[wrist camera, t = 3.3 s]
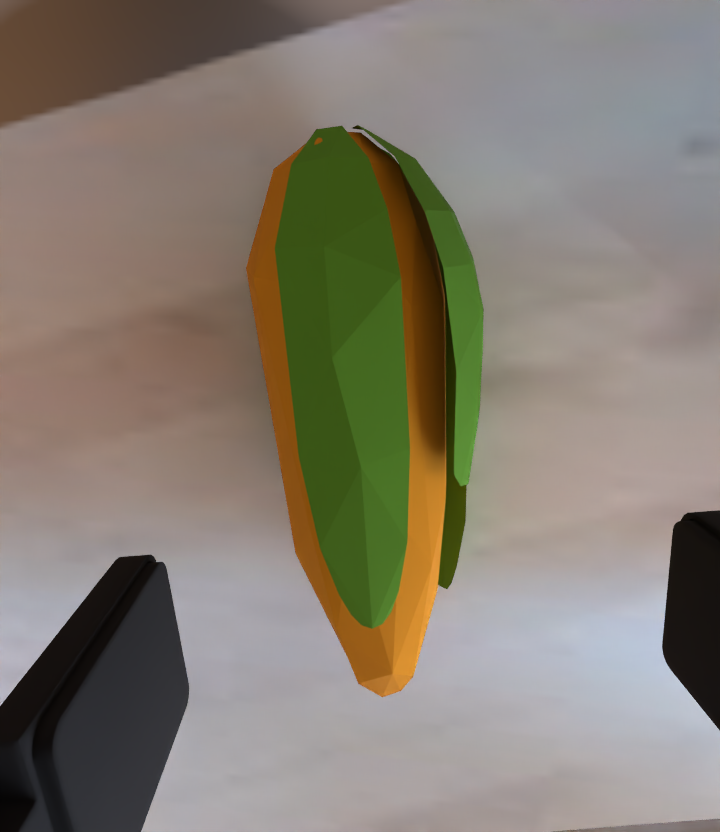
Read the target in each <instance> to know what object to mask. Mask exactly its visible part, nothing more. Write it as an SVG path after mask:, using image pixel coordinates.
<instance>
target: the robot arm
mask: <svg viewBox="0 0 720 832" xmlns="http://www.w3.org/2000/svg"><path fill="white" fill-rule="evenodd" d="M662 649H663V655H664V658H665V660H666V663H667V665H668V666H669V668H670V669H671V671H672V672H673V673H674V674H675V675H676V677H677V678H678V679H679V680H680V682H681V683H682V684H683V685H684V687H685V688H686V689H687V690H688V692H689V693H690V694H691V695H692V697H693V698H694V699H695V700H696V702H697V703H698V704H699V705H700V707H701V708H702V709H703V710H704V711H705V713H706V714H707V715H708V716H709V718H710V719H711V720H712V721H713V723H714V724H715V725H716V726H717V728H718V729H719V730H720V511H706V512H693V513H687V514H685V515H684V516H683V518H682V519H681V521H679V522H677V523H676V524H675V525H674V528H673V535H672V546H671V557H670V568H669V579H668V589H667V600H666V611H665V622H664V633H663V644H662ZM188 697H189V683H188V677H187V672H186V667H185V662H184V657H183V651H182V646H181V641H180V636H179V631H178V625H177V620H176V615H175V610H174V605H173V600H172V594H171V589H170V584H169V579H168V574H167V569H166V566H165V564H164V563H163V562H156V560H155V558H154V556H152V555H141V556H129V557H119V558H118V559H116V560H115V562H114V563H113V564H112V565H111V567H110V568H109V569H108V571H107V572H106V573H105V574H104V576H103V577H102V578H101V579H100V581H99V582H98V583H97V584H96V586H95V587H94V588H93V590H92V591H91V592H90V593H89V595H88V596H87V597H86V598H85V600H84V601H83V602H82V603H81V605H80V606H79V607H78V608H77V610H76V611H75V612H74V614H73V615H72V616H71V617H70V619H69V620H68V621H67V622H66V624H65V625H64V626H63V627H62V629H61V630H60V631H59V633H58V634H57V635H56V636H55V638H54V639H53V640H52V641H51V643H50V644H49V645H48V646H47V648H46V649H45V650H44V651H43V653H42V654H41V655H40V657H39V658H38V659H37V660H36V662H35V663H34V664H33V665H32V667H31V668H30V669H29V670H28V672H27V673H26V674H25V676H24V677H23V678H22V679H21V681H20V682H19V683H18V684H17V686H16V687H15V688H14V689H13V691H12V692H11V693H10V695H9V696H8V697H7V698H6V700H5V701H4V702H3V703H2V705H1V706H0V832H141V830H142V827H143V824H144V822H145V819H146V816H147V814H148V811H149V808H150V805H151V803H152V800H153V797H154V794H155V792H156V789H157V786H158V783H159V781H160V778H161V775H162V772H163V770H164V767H165V764H166V762H167V759H168V756H169V753H170V751H171V748H172V745H173V742H174V740H175V737H176V734H177V731H178V729H179V726H180V723H181V720H182V718H183V715H184V712H185V709H186V707H187V703H188ZM553 832H720V819H709V820H695V821H682V822H668V823H654V824H641V825H629V826H616V827H603V828H591V829H578V830H565V831H553Z"/></svg>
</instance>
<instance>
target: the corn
mask: <svg viewBox="0 0 720 832" xmlns="http://www.w3.org/2000/svg"><path fill="white" fill-rule="evenodd" d="M353 129H361V130H364V131H365V132H367V133H368V134H369V135H370V136H371V137H372V138H374V139H375V140H376V141H377V142H378V143H380V144H381V145H382V146H383V147H384V148H386V149H387V150H388V151H389V152H390V153H392V154H393V155H394V156H395V158H396V159H397V161H398V163H399V164H398V163H397V161H396V160H395V159H394V158H393V157H392V156H391V154H390V153H388V152H386V151H384V150H383V149H381V148H379V147H378V146H377V145H375V144H374V143H373V142H372V141H370V140H369V139H368V138H367V137H366V136H364V135H363V134H362V133H360V132H347V131H346V130H345V129H344V128H343V126H337V127H330V128H323V129H316V131H315V132H314V134H313V135H312V136H311V138H310V139H309V140H308V142H307V143H306V144H305V145H303V146H302V147H301V148H300V149H298V150H297V151H296V152H295V153H293V154H292V155H291V156H290V157H288V158H287V159H286V160H285V161H283V162H282V163H281V164H280V165H278V166H277V167H276V168H275V169H274V170H273V174H272V177H271V181H270V184H269V188H268V191H267V195H266V199H265V202H264V206H263V209H262V213H261V216H260V220H259V224H258V227H257V231H256V234H255V238H254V242H253V245H252V249H251V252H250V256H249V259H248V263H247V267H246V271H247V277H248V282H249V288H250V294H251V300H252V305H253V311H254V317H255V323H256V328H257V334H258V340H259V346H260V351H261V357H262V363H263V369H264V374H265V380H266V386H267V392H268V397H269V403H270V409H271V415H272V420H273V426H274V432H275V438H276V443H277V449H278V455H279V461H280V466H281V472H282V478H283V484H284V489H285V495H286V501H287V507H288V512H289V518H290V524H291V530H292V535H293V541H294V547H295V553H296V555H297V557H298V559H299V561H300V563H301V565H302V567H303V569H304V571H305V573H306V575H307V577H308V579H309V581H310V583H311V585H312V587H313V589H314V591H315V593H316V595H317V597H318V599H319V601H320V603H321V605H322V607H323V609H324V611H325V613H326V615H327V617H328V619H329V621H330V623H331V625H332V627H333V629H334V631H335V633H336V635H337V637H338V639H339V641H340V643H341V645H342V647H343V649H344V651H345V653H346V655H347V657H348V659H349V662H350V664H351V667H352V669H353V672H354V674H355V676H356V679H357V681H358V684H360V685H362V686H364V687H365V688H367V689H369V690H371V691H372V692H374V693H376V694H378V695H379V696H381V697H384V696H387V695H390V694H393V693H396V692H399V691H401V690H402V689H403V688H404V687H405V685H406V684H407V683H408V682H409V681H410V679H411V678H412V677H413V675H414V672H415V668H416V664H417V661H418V657H419V654H420V650H421V647H422V643H423V639H424V636H425V632H426V629H427V625H428V621H429V618H430V614H431V611H432V607H433V604H434V600H435V596H436V593H437V589H438V585H440V586H441V587H443V588H446V589H448V587H449V586H450V585H451V583H452V580H453V576H454V573H455V570H456V567H457V562H458V557H459V552H460V547H461V541H462V536H463V531H464V526H465V516H466V485H467V484H468V482H469V476H470V470H471V464H472V457H473V450H474V444H475V437H476V431H477V424H478V417H479V409H480V389H481V371H482V355H483V304H482V299H481V295H480V290H479V285H478V280H477V275H476V270H475V265H474V260H473V257H472V254H471V252H470V249H469V247H468V244H467V242H466V240H465V237H464V235H463V232H462V230H461V227H460V225H459V222H458V220H457V217H456V215H455V213H454V211H453V210H452V208H451V207H450V205H449V204H448V203H447V201H446V200H445V199H444V197H443V196H442V194H441V193H440V192H439V190H438V189H437V188H436V186H435V185H434V184H433V182H432V181H431V179H430V178H429V177H428V175H427V174H426V173H425V171H424V170H423V168H422V167H421V166H420V164H419V163H418V162H417V160H416V159H415V158H413V157H411V156H410V155H408V154H407V153H405V152H403V151H402V150H400V149H398V148H397V147H395V146H393V145H392V144H390V143H388V142H387V141H385V140H383V139H382V138H380V137H378V136H377V135H375V134H373V133H372V132H370V131H368V130H366V129H364V128H362V127H360V126H358V125H357V126H355V127H353Z"/></svg>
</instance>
